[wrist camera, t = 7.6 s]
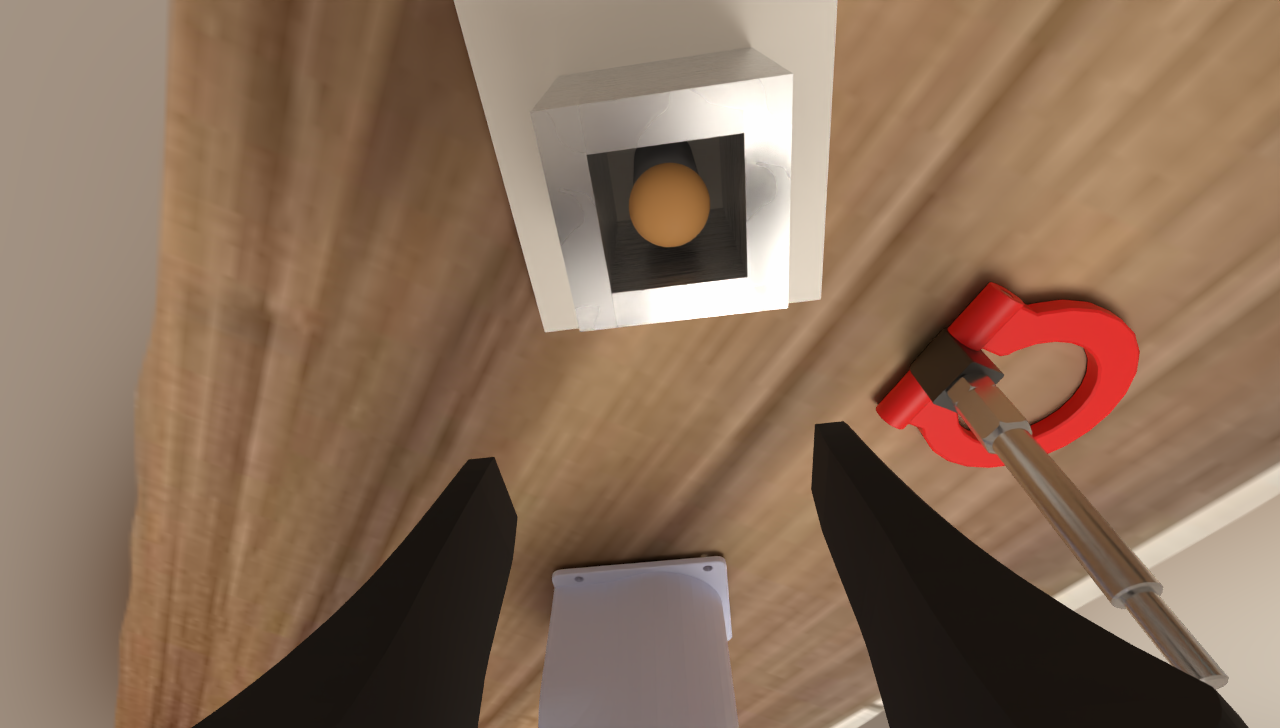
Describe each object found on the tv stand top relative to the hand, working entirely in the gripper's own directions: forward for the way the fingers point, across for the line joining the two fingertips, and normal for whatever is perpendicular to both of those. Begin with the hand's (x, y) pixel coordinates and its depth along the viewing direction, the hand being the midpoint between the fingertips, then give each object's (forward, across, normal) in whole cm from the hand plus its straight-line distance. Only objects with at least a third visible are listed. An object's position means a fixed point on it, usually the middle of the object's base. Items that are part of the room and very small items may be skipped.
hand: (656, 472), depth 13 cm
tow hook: (+10, -14, +7) cm, 19 cm away
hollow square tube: (+8, -1, -5) cm, 10 cm away
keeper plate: (+10, -1, -5) cm, 11 cm away
